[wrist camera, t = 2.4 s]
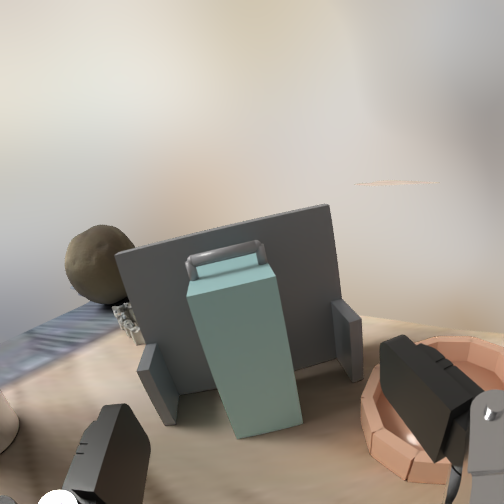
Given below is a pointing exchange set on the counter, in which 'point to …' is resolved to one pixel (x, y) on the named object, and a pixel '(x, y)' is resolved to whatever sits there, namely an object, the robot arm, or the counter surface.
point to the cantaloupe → (97, 264)
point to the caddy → (244, 337)
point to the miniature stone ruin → (128, 322)
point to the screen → (290, 290)
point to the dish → (395, 430)
